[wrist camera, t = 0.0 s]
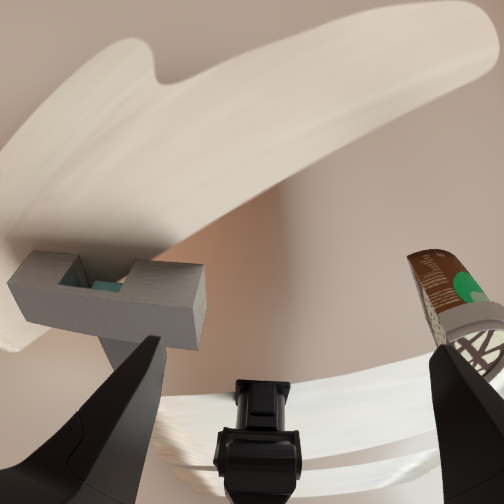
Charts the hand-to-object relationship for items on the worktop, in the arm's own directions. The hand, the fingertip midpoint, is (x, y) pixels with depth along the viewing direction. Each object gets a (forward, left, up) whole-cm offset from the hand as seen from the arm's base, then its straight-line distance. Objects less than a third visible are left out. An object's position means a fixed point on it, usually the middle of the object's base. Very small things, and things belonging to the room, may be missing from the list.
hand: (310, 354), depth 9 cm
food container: (-8, -16, -15) cm, 23 cm away
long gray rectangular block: (-11, +15, -15) cm, 24 cm away
